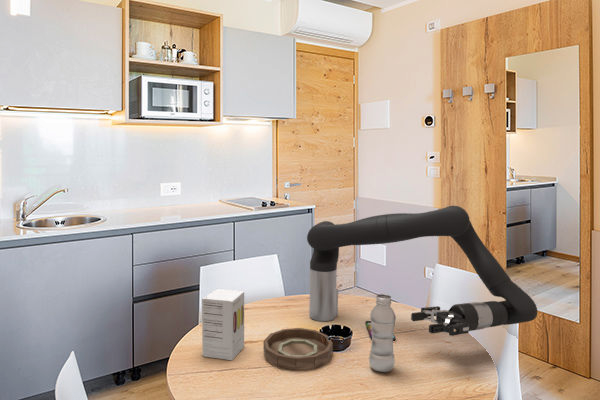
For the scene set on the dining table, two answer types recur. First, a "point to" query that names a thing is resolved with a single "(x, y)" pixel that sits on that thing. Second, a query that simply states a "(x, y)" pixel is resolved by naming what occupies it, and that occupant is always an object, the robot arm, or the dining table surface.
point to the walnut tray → (297, 349)
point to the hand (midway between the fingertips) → (420, 323)
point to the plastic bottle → (382, 334)
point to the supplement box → (223, 324)
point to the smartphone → (369, 328)
